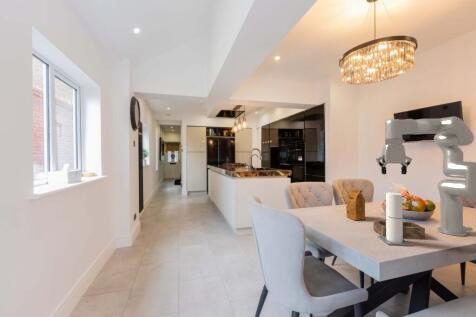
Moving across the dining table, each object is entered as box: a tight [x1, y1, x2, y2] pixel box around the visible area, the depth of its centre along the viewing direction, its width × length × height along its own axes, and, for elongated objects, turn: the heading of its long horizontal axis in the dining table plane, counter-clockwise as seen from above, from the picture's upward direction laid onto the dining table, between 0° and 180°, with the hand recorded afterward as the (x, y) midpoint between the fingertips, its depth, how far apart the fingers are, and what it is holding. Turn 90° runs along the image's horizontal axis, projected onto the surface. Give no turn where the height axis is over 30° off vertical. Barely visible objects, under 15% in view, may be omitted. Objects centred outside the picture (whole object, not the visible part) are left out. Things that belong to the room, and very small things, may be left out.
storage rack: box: [372, 220, 426, 240], centre depth 126 cm, size 21×11×6 cm, turn 81°
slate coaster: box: [377, 235, 413, 247], centre depth 116 cm, size 11×11×1 cm
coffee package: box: [345, 187, 366, 221], centre depth 159 cm, size 10×12×22 cm
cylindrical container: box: [385, 192, 404, 243], centre depth 116 cm, size 7×7×25 cm
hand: (393, 174), depth 116 cm, fingers open, 9 cm apart
